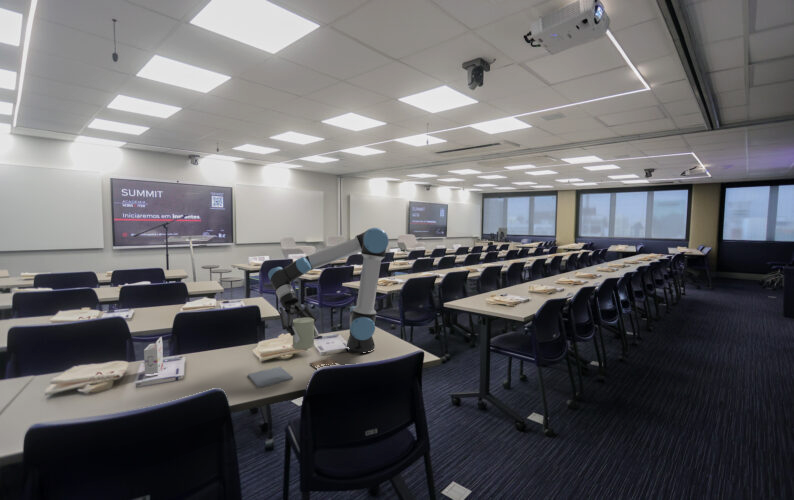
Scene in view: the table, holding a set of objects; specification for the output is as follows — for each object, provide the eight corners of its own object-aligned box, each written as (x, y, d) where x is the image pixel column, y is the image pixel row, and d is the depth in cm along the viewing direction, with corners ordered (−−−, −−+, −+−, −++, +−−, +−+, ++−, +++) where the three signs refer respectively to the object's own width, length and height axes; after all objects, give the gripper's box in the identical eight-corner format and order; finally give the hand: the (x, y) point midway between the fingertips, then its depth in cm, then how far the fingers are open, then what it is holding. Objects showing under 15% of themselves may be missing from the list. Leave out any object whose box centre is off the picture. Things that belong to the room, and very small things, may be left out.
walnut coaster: (330, 359, 168) (330, 358, 168) (342, 366, 159) (342, 365, 159) (309, 364, 161) (309, 363, 161) (320, 372, 153) (320, 370, 152)
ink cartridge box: (150, 369, 151) (149, 336, 151) (163, 368, 153) (162, 335, 152) (143, 377, 144) (143, 342, 143) (158, 376, 145) (157, 341, 145)
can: (287, 347, 149) (287, 319, 148) (302, 341, 157) (302, 315, 156) (304, 351, 144) (304, 322, 144) (318, 344, 152) (318, 318, 152)
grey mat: (280, 368, 156) (280, 366, 156) (292, 378, 145) (292, 377, 145) (247, 376, 147) (247, 374, 147) (258, 387, 136) (258, 385, 136)
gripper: (304, 298, 168) (324, 337, 158) (262, 305, 151) (281, 349, 142) (310, 289, 164) (331, 328, 154) (268, 294, 148) (288, 339, 138)
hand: (307, 338), depth 148 cm, fingers closed on can, 9 cm apart
